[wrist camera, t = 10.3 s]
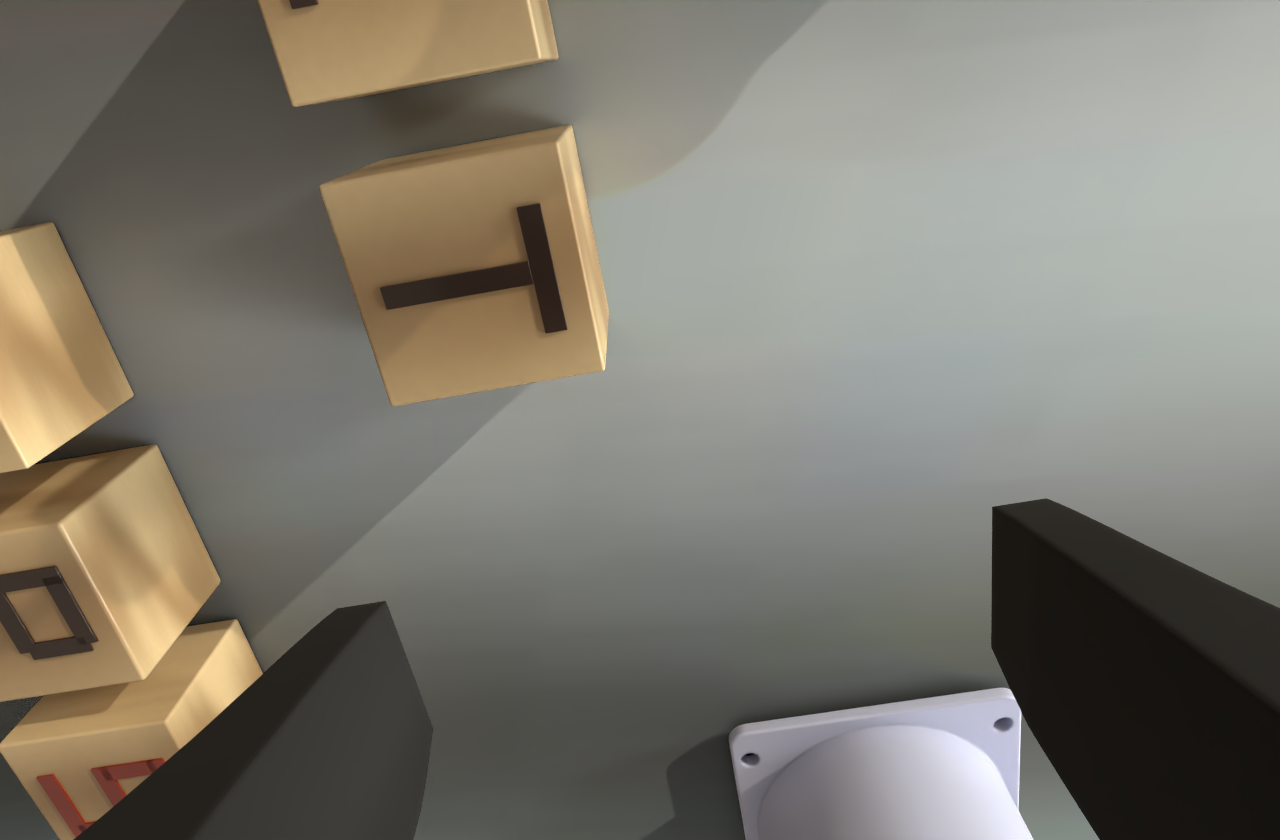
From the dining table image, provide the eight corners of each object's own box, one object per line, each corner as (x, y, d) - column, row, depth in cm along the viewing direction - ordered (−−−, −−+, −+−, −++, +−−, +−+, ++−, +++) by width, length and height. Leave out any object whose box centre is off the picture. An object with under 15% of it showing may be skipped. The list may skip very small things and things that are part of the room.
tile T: (609, 313, 18) (605, 372, 14) (433, 344, 18) (390, 409, 15) (572, 124, 16) (558, 140, 13) (379, 160, 16) (316, 186, 13)
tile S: (291, 731, 23) (233, 847, 19) (155, 750, 23) (75, 869, 19) (237, 617, 21) (164, 723, 18) (92, 640, 21) (-7, 748, 18)
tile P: (223, 581, 20) (144, 683, 17) (74, 605, 21) (-32, 709, 17) (157, 442, 19) (57, 524, 16) (-3, 469, 19) (-137, 556, 16)
